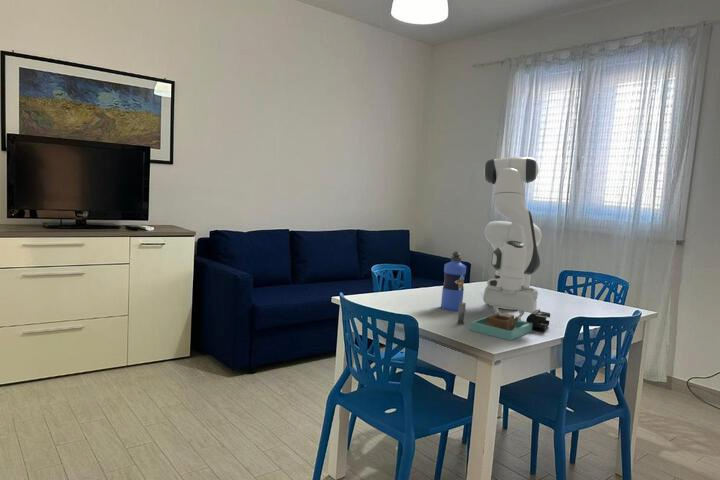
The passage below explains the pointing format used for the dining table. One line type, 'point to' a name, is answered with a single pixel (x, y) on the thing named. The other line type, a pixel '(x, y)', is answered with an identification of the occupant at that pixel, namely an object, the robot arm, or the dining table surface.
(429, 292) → the dining table surface
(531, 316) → the black blocky piece
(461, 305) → the stake
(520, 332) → the tray
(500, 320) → the wooden box
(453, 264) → the water bottle
